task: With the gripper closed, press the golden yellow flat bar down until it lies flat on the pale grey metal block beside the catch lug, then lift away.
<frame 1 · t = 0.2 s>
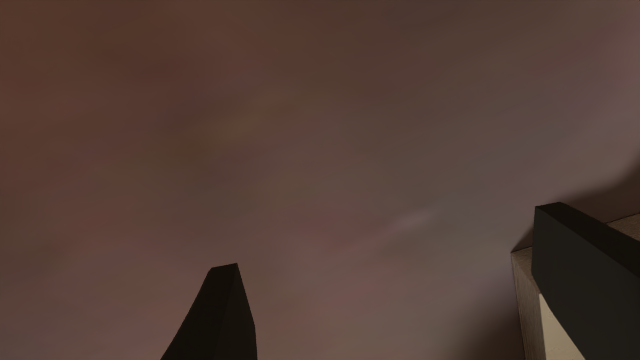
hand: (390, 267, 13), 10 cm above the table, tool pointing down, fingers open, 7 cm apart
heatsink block: (639, 287, 29), on the table
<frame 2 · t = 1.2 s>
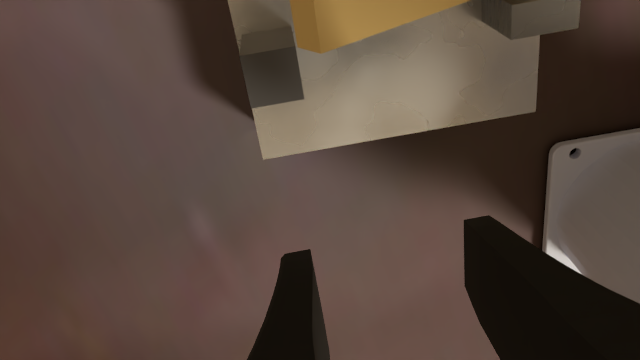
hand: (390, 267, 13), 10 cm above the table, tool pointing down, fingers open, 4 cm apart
catch lug: (271, 54, 18), resting on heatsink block
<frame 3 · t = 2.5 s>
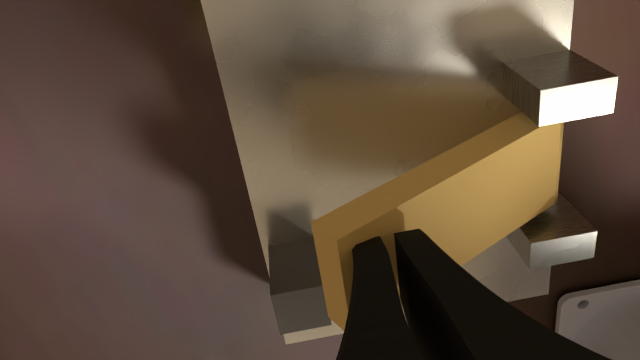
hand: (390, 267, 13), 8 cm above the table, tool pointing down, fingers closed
catch lug: (296, 261, 18), resting on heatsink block
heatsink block: (386, 129, 20), on the table
golden yellow flat bar: (456, 207, 15), point 6 cm above the table, hinge at 28.8°, touching gripper
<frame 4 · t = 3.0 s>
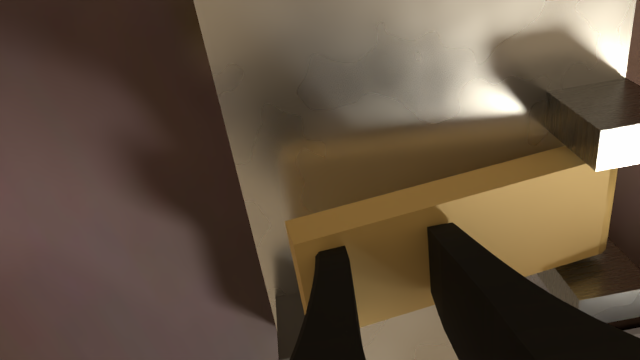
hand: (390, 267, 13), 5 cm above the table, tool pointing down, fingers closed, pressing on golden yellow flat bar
catch lug: (306, 311, 16), resting on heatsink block
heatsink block: (407, 160, 18), on the table
golden yellow flat bar: (461, 236, 14), point 4 cm above the table, hinge at 8.6°, touching gripper
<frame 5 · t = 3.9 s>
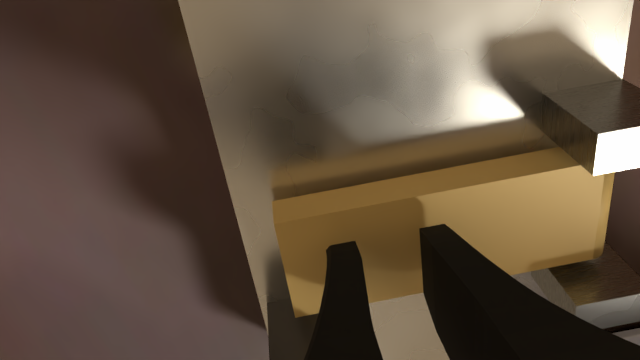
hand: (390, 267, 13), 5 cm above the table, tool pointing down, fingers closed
catch lug: (299, 317, 16), resting on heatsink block
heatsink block: (400, 162, 17), on the table
golden yellow flat bar: (447, 229, 14), point 4 cm above the table, hinge at 0.2°
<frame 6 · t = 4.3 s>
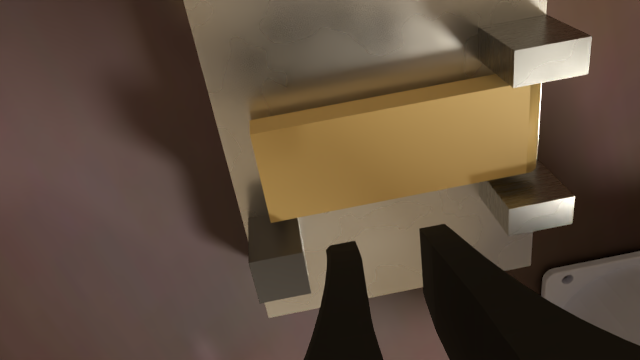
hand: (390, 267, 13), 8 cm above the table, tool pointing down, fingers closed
catch lug: (276, 232, 18), resting on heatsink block
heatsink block: (366, 101, 20), on the table
golden yellow flat bar: (399, 145, 16), point 4 cm above the table, hinge at 0.1°
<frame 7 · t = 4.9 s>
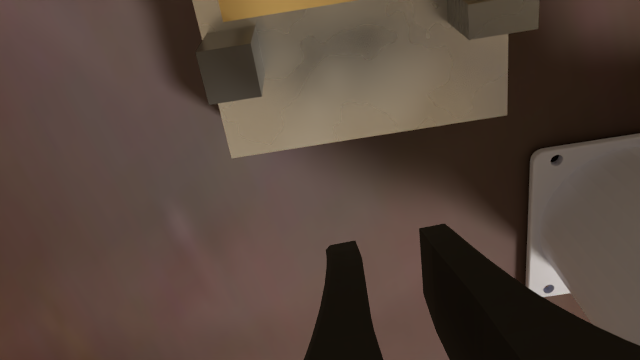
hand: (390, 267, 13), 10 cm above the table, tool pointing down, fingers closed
catch lug: (236, 53, 18), resting on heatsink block
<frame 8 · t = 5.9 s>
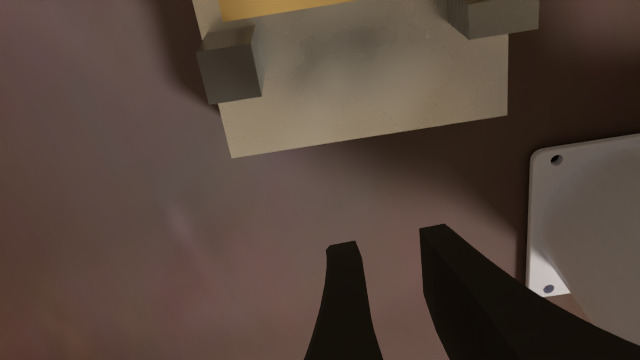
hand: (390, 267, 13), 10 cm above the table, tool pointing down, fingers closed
catch lug: (236, 53, 18), resting on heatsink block
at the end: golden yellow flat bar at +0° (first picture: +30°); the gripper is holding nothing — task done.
